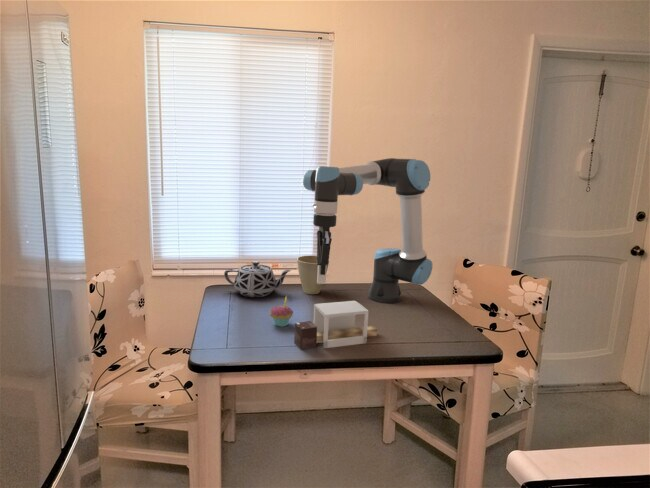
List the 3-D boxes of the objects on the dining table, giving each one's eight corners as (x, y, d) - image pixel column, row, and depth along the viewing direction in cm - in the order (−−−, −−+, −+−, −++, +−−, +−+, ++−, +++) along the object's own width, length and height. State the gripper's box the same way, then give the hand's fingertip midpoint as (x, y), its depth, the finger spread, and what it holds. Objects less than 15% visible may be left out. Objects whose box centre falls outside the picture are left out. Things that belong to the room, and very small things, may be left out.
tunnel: (353, 331, 170) (355, 300, 167) (366, 343, 160) (368, 310, 157) (312, 335, 164) (314, 304, 161) (323, 348, 154) (325, 314, 151)
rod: (373, 333, 170) (373, 325, 169) (376, 336, 167) (377, 328, 166) (310, 341, 160) (310, 333, 160) (313, 344, 157) (313, 336, 157)
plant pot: (289, 292, 212) (290, 259, 209) (308, 285, 224) (309, 253, 221) (315, 299, 204) (316, 264, 201) (333, 291, 216) (335, 259, 213)
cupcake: (295, 322, 176) (296, 292, 173) (286, 330, 168) (287, 299, 166) (275, 318, 179) (276, 289, 176) (265, 326, 171) (266, 295, 168)
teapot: (288, 301, 199) (289, 268, 196) (218, 298, 200) (218, 265, 197) (292, 289, 218) (293, 258, 215) (229, 285, 218) (229, 255, 215)
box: (316, 347, 155) (317, 327, 153) (300, 349, 152) (301, 329, 151) (309, 340, 160) (310, 320, 158) (293, 342, 157) (294, 322, 156)
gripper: (310, 211, 155) (307, 277, 160) (317, 216, 143) (313, 288, 147) (332, 211, 157) (328, 277, 161) (340, 217, 144) (336, 288, 149)
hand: (321, 283), depth 154 cm, fingers closed
